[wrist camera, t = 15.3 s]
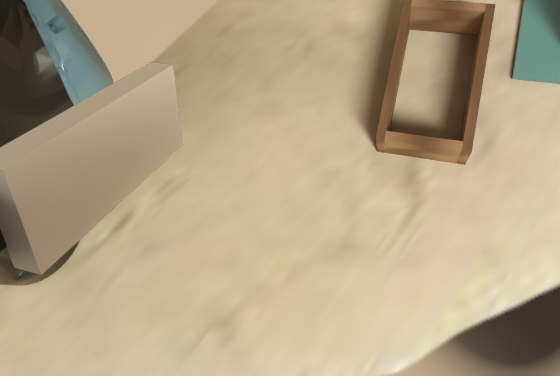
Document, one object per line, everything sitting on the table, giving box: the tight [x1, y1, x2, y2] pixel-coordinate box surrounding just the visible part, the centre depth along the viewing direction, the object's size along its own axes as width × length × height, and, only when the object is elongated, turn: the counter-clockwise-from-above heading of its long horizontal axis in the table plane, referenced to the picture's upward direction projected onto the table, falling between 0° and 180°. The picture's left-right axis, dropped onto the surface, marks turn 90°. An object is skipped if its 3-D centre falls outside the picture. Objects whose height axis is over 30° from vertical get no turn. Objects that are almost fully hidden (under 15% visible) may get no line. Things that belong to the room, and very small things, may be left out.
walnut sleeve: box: [376, 0, 495, 164], centre depth 45 cm, size 8×14×4 cm, turn 167°
